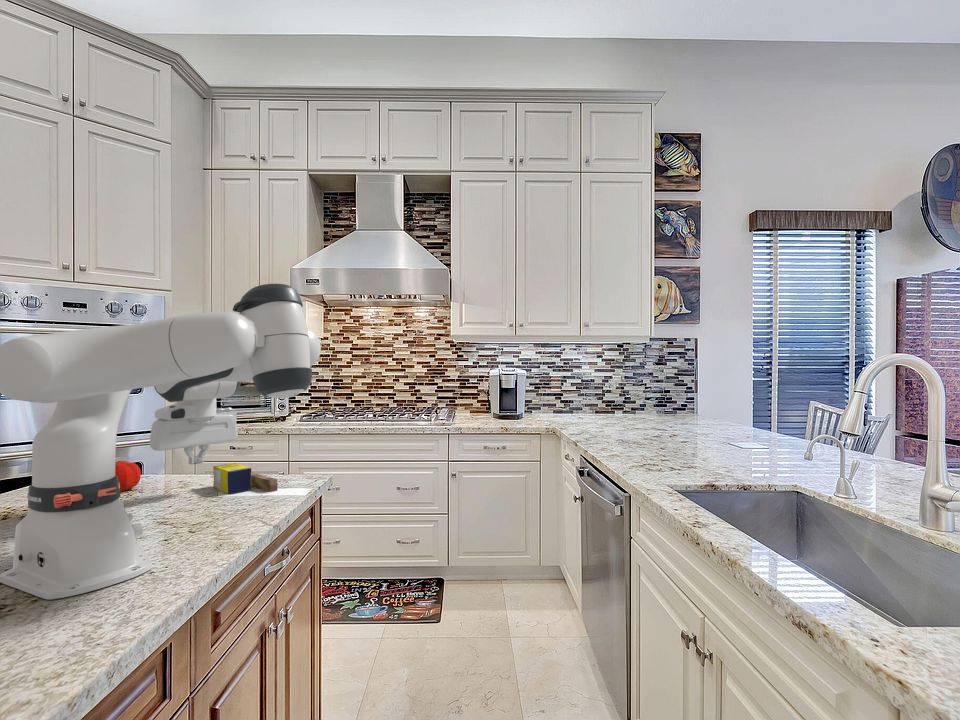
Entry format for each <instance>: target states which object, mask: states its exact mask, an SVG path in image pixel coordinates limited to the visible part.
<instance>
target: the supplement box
mask: <svg viewBox="0 0 960 720" xmlns="http://www.w3.org/2000/svg"><path fill="white" fill-rule="evenodd" d="M212 470H213V485H212V486H213V488H215V489H216V490H218V491H221V492H223V493H226V494H228V495H230V494H236V493H241V492H246V491H251V490H252V487H251V473H252V467H248V466H246V465H242V464H240V463H238V462H237V463H236V462H231V463H227V464H226V463H225V464H217V465H214V466H213V467H212Z"/></svg>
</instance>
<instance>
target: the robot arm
mask: <svg viewBox="0 0 960 720" xmlns="http://www.w3.org/2000/svg"><path fill="white" fill-rule="evenodd" d="M303 305H304V303H303V302H302V298H301V296H300V294H299V292H298V290H297V289H296V288H295V287H292V286H290V285H288V284H285V283H277V282H276V283H274V282H273V283H272V282H271V283H270V282H269V283H264V284H261V285H257V286H254V287H251V289H249V290H248V291H246V292H245V294H244V295H243V296H242V297H241V299H240V301H237V302H236V303H235V304H234V305H233V308H232V311H207V312H206V311H205V312H195V313H189V314H183V315H176V316H172V317H166V318H160V319H154V320H150V321H143V322H139V323H138V322H137V323H133V324H132V323H130V324H124V325H122V324H121V325H112V326H102V327H93V328H82V329H77V330H75V329H74V330H66V331H61V332H60V331H59V332H53V333H45V334H44V333H43V334H38V335H29V336H23V337H17V338H13V339H10V340H7V341H4V342H3V343H2V344H0V394H1V395H3V396H4V397H6V398H8V399H11V400H14V401H15V400H16V401H21V402H29V403H37V404H53V403H56V405H55V408H54V410H53V412H52V415H51V417H50V419H49V420H47V421H48V422H47V423H46V424H45V425H44V426H43V427H42V428H41V429H40V430H39V431H37V433H36V434H35V436H34V438H33V440H32V451H31V453H32V457H31V458H32V463H31V466H32V468H31V484H30V485H29V486H28V493H27V495H26V496H27V498H26V499H27V508H29V511H28V512H27V514H26V516H24V517H23V519H22V520H20V521H19V522H18V523H16V526H15V532H14V533H15V534H14V547H13V560H12V561H13V562H12V568H10V569H8V570H6V571H4V572H1V573H0V583H1V584H4V585H6V586H8V587H11V588H14V589H17V590H19V591H21V592H24V593H28V594H30V595H33V596H36V597H38V598H41V599H44V600H57V599H63V598H68V597H73V596H77V595H82V594H86V593H88V592H93V591H97V590H100V589H102V588H106V587H111V586H113V585H115V584H118V583H122V582H125V581H127V580H130V579H133V578H136V577H138V576H140V575H143V574H144V573H146V572H148V571H150V570H152V569H153V562H152V560H151V559H150V557H149V556H148V554H147V552H146V551H145V550H144V548H143V546H142V545H141V544H140V542H139V540H137V539H136V538H139V537H141V536H143V524H142V522H138V523H134V524H132V523H131V521H133V517H134V516H133V513H132V512H127V510H126V508H125V502H124V503H123V502H122V501H121V500H120V499H119V498H121V492H120V489H119V488H120V484H119V481H118V476H117V475H115V461H116V451H117V436H118V435H117V434H118V428H119V424H120V420H121V417H122V414H123V411H124V409H125V405H126V404H127V403H126V402H127V400H128V397H129V395H130V394H131V392H132V391H133V390H137V389H143V388H150V387H154V390H155V391H156V393H157V394H158V395H159V396H160V397H162V399H164V400H166V401H167V402H168V403H173V404H170V405H168V406H165V407H161V408H159V409H156V410H155V411H154V417H155V418H156V420H155V421H154V422H153V424H152V425H151V429H150V437H149V446H150V448H151V449H152V450H153V451H156V452H157V451H158V452H162V451H168V450H169V451H170V450H176V449H183V452H184V453H185V455H186V457H188V464H189V465H196V464H197V465H198V464H203V463H204V459H205V458H204V457H205V456H206V453H207V452H208V450H209V446H210V445H218V444H224V443H225V444H226V443H231V442H232V443H233V442H234V443H235V442H236V441H237V439H238V437H239V435H238V424H237V419H238V417H237V416H238V415H237V414H238V413H237V411H236V410H235V409H234V408H232V407H218V408H217V399H226V398H229V397H232V396H234V395H235V394H236V393H237V392H238V390H239V389H240V387H241V384H242V383H253V384H254V387H255V389H256V391H257V393H259V394H260V395H262V396H263V397H270V398H273V399H288V398H293V397H295V396H298V395H299V394H301V393H303V392H304V391H307V390H308V389H309V387H310V385H311V384H312V378H313V369H312V366H314V365H315V364H316V362H318V360H319V359H320V356H321V351H322V348H321V347H322V346H321V345H322V344H321V341H320V339H319V337H318V336H317V333H315V331H313V330H312V329H311V328H309V327H308V325H307V321H306V317H305V314H304V311H303V307H304V306H303ZM175 402H176V403H175ZM194 447H198V449H199V450H200V451H199V453H198V455H194V454H193V452H194V449H195V448H194Z"/></svg>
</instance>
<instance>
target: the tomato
mask: <svg viewBox="0 0 960 720" xmlns="http://www.w3.org/2000/svg"><path fill="white" fill-rule="evenodd" d="M115 475H117V476H118V481H119V484H120V488H119V489H120V493H121V492H123V491H127V490H131V489H133V488H135V487H136V486H137V485H138V484H139V483H140V481H141V478H142V471H141V468H140V466H139V465H138V464H136V463H134V462H131V461H130V462H129V461H127V460H117V461H116V460H115Z"/></svg>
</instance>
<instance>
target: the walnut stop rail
mask: <svg viewBox="0 0 960 720" xmlns="http://www.w3.org/2000/svg"><path fill="white" fill-rule="evenodd" d="M251 488H256V489H259V490H263V491H265V492H270V493H271V492H275V491H278V478H274V477H270V476H266V475H262V474H258V473H254V472H251Z"/></svg>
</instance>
